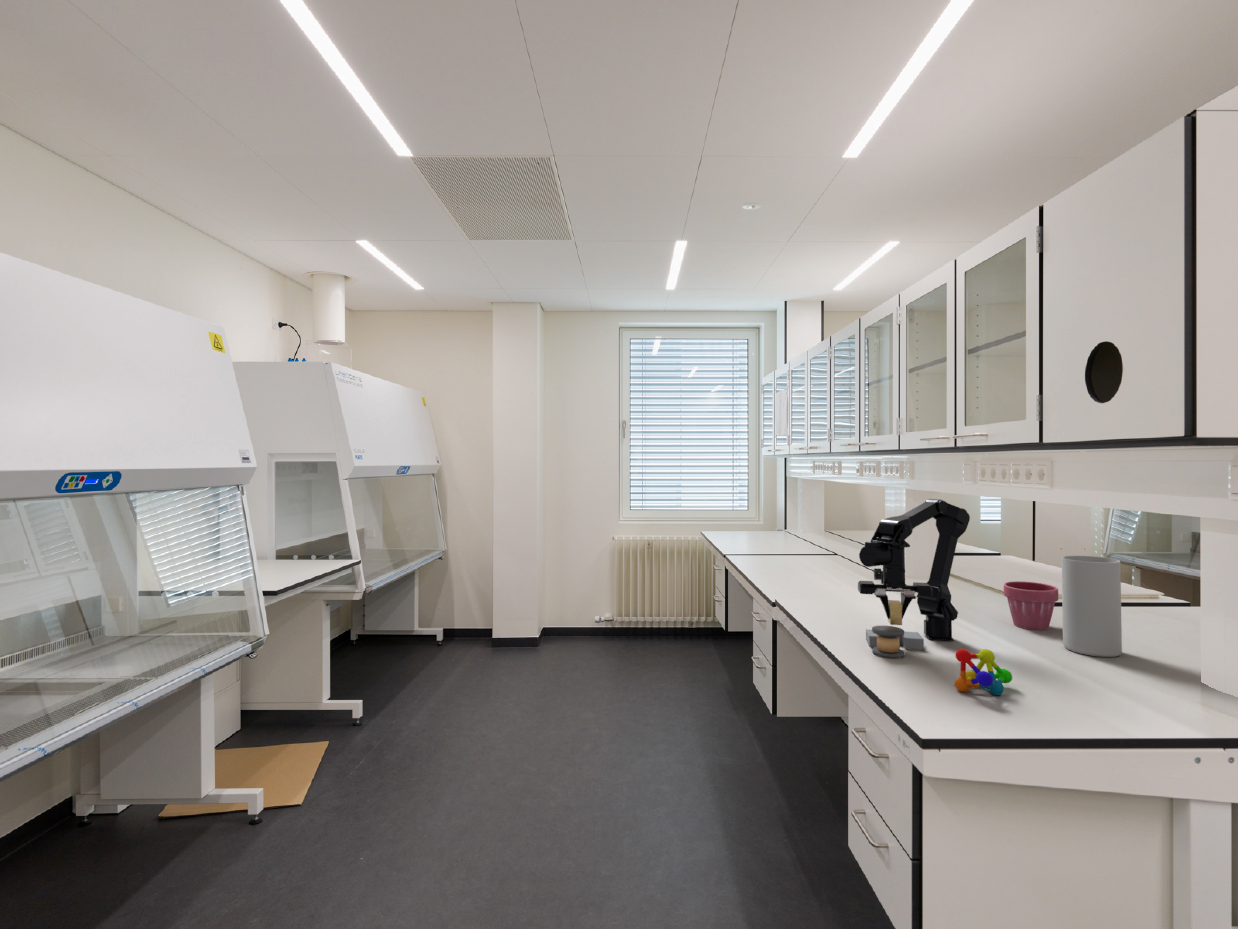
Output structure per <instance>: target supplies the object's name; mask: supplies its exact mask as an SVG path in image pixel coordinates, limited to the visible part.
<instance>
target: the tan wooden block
mask: <svg viewBox="0 0 1238 929" xmlns="http://www.w3.org/2000/svg"><path fill="white" fill-rule="evenodd" d="M888 603H889V613H890V616H889V619H888V618H887V621H888V623H889V626H903V619H902V604H901V600H896V599H895V600H893V599H888Z"/></svg>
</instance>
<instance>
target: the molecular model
mask: <svg viewBox="0 0 1238 929" xmlns="http://www.w3.org/2000/svg"><path fill="white" fill-rule="evenodd" d="M955 658H956V660H957V661H958V662H959V663H960V670H959V671H960V672H959V675H960V676H959V677H957V678H956V679H955V681H954V687H955V688H956V690H958V691H959V692H961V693H968V692H969V691H970V689H980V690H988V692H989V693H990V694H991V695H994V696H1001V695H1002V694H1003V693H1004V690H1005V687H1004V685H1003V684H1008V683H1010V682H1011V681H1012V680H1013V674H1012V672H1011V671H1010V670H1008V669H1006V668H1001V667H1000V666H999V665H998V664H997V662H996V661H995V658H996V656H995V654H994V652H993V651H992V650H990V649H987V648H985V649H981V650H980V651H979V653H971V651H969V650H968V649H966V648H959V649H957V650H956V651H955ZM973 659H974V660H976V659H977V660H979V662H978V663H977V665H976V664H975V663H974V662H973V661H972V660H973ZM967 665H968V666H969V667H970V668H971V669H972V670H967ZM985 665H986V670H987V671H984V670H982V669H983V668H984V666H985ZM994 670H995V671H996V672H995V671H994Z"/></svg>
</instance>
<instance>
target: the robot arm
mask: <svg viewBox="0 0 1238 929" xmlns="http://www.w3.org/2000/svg"><path fill="white" fill-rule="evenodd" d="M930 519H934V520H935V527H936V530H937V532H938V539H937V544H936V548H935V552H934V555H933V562H932V566H931V570H930V574H929V577H928V578H929V579H928V580H927V582H916V581H915V582H914V581H913V583H912V585H910V584H906V558H905V556H906V554H905V550H906V549H905V548H910V547H911V545H910V543H909V542H907V541H906V539H908V538H909V537H910V536H911V535H912V534H913V530H914V529H915V528H917V527H918V526H920V525H921V524H924V523H925V522H927V521H929V520H930ZM970 519H971V516H970V514H969V513H968V511H967V510H966V509H965V508H961V507H958V506H955V505H954V504H951V503H949V502H947V501H945V500H943V499H939V498H938V499H937V498H936V499H935V498H928V499H926V500H925V501H924V502H923V503H921V504H919V505H918V506H916V507H914V508H912V509H911V510H908V511H907V512H905V513H903V514H901V515H896V516H895V515H894V516H891V517H886V518H883V519H881V520H880V521H879V523H878V525H877V528H876V530H875V531H874V534H873V536H872V538H871V539H870V541H865V543H864V546H863V547H861V549H860V551H859V553H858V556H859V557H858V558H859V560H860V563H861V564H862V565H863V566H865V567H866V568H867V567H869V568H872V567H878V566H882V568H873V579H874V580H875V581H880V584H877V583H875V582H873V580H859V581H858V582H857V591H858V592H859V594H861V595H874V596H875V597H876V598H879V600H880V601H881V604H882V607H883V610H884V612H885V615H886V618H887V620H888V619H889V616H890V613H889V603H888V600H889V596H888V595H887V594H886V593H887V592H894V593H895V592H897V593H898V592H900V602H901V604H902V620H903V618H904V616H905V613H906V611H907V610H908V607H909V605H910V604H911V602H912V600H915V599H917V600H916V603H917V606H918V609H919V613H920V615H921V616H922V615H923V616H925V619H924V620H923V634H924V635H925V636H926V637H927V639H928V640H933V641H937V640H938V641H949V642H950V641H951V642H952V641H953V642H954V638H953V632H952V631H953V627H952V626H953V625H952V624H953V622H954V621H955V620H957V619H958V615H959V611H958V610H957V609H956V608H955V606H954V605H953V603H951V602H952V594H951V591H950V589H949V586H948V584H949V580H950V576H951V571H952V567H953V562H954V558H955V552H956V548H957V544H958V540H959V539H960V538H961V536H963V534H964V533H965V532H966V531H967V528H968V526H969V523H970ZM916 593H917V595H916V596H915V594H916ZM952 621H953V622H952Z"/></svg>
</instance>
